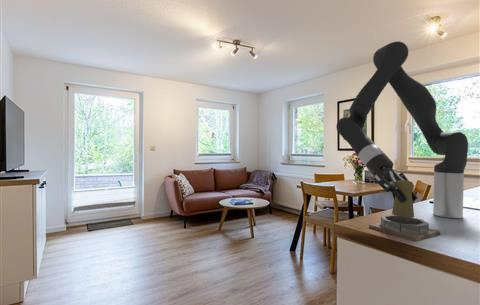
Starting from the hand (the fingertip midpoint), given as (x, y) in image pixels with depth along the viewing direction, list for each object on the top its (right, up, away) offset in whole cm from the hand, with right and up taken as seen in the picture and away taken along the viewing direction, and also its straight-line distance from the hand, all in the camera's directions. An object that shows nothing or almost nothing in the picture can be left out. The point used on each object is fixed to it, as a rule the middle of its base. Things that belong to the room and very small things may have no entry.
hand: (409, 200), depth 80 cm
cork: (-1, -5, +2) cm, 5 cm away
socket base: (-1, -10, +2) cm, 10 cm away
